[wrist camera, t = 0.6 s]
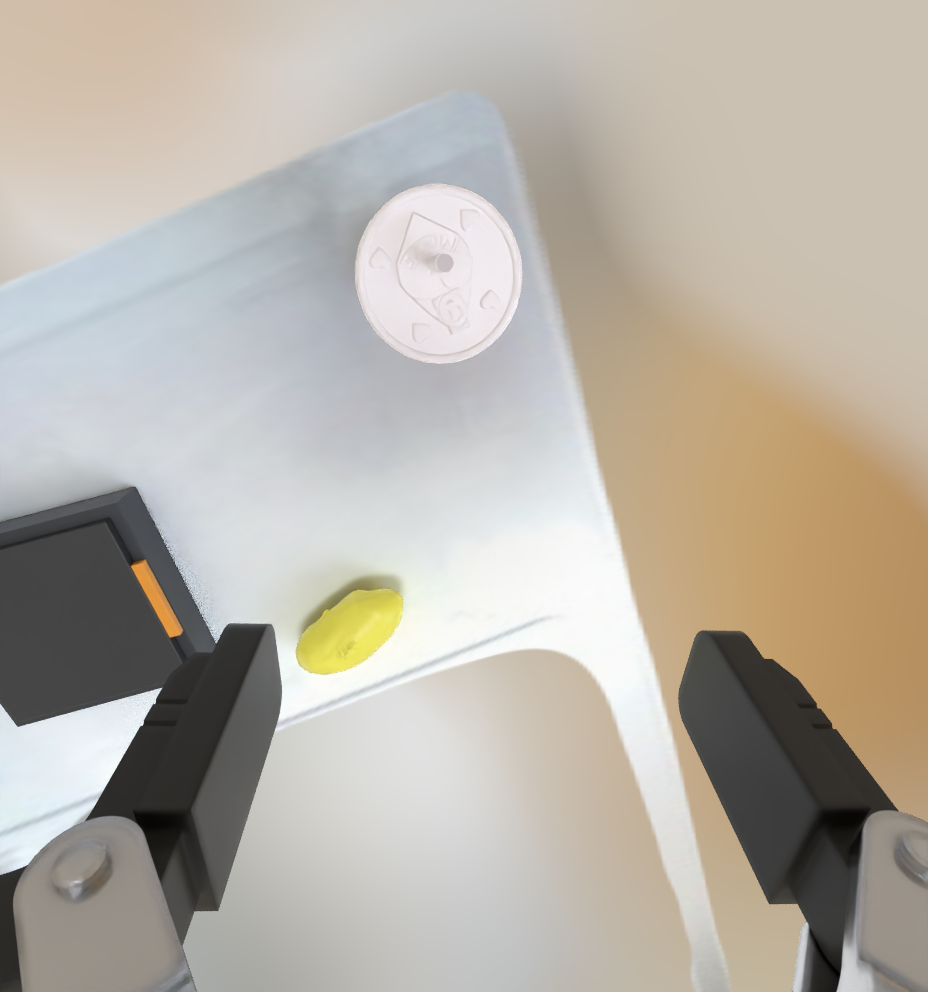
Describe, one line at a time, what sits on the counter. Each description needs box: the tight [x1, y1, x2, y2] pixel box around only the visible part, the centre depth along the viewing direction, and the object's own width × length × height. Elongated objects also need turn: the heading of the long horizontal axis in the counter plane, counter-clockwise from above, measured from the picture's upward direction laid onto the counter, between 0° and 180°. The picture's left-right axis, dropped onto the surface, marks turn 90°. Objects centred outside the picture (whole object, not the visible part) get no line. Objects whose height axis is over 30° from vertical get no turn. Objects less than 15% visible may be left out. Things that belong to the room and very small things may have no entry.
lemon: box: [296, 589, 403, 675], centre depth 35 cm, size 4×8×4 cm, turn 121°
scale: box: [0, 487, 216, 727], centre depth 33 cm, size 12×12×3 cm
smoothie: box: [355, 184, 522, 364], centre depth 23 cm, size 6×6×14 cm
